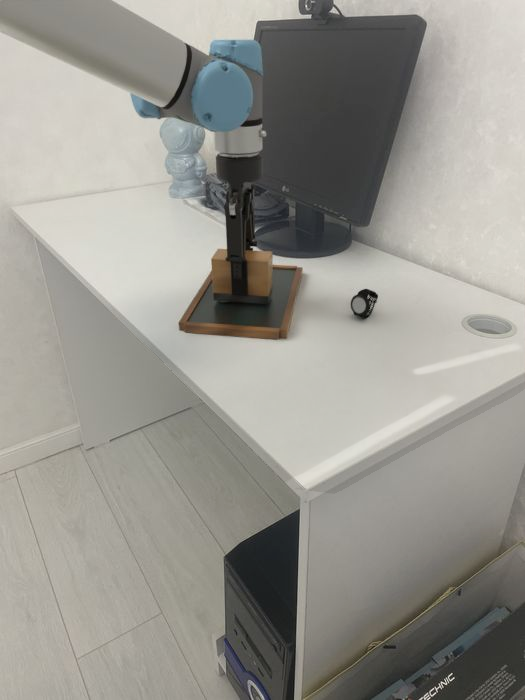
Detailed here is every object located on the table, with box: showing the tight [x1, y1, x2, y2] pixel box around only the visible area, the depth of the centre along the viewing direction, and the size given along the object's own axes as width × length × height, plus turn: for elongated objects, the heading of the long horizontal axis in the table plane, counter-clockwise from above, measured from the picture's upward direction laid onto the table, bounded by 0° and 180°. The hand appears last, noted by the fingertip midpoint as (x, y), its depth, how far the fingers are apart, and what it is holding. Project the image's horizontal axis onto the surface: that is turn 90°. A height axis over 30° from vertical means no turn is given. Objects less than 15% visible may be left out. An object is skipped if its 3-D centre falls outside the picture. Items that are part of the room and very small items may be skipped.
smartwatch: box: [350, 288, 379, 319], centre depth 90 cm, size 4×5×5 cm
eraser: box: [210, 248, 274, 304], centre depth 93 cm, size 10×5×8 cm, turn 81°
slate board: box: [178, 264, 304, 340], centre depth 98 cm, size 18×28×2 cm, turn 171°
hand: (243, 287), depth 94 cm, fingers closed on eraser, 5 cm apart
